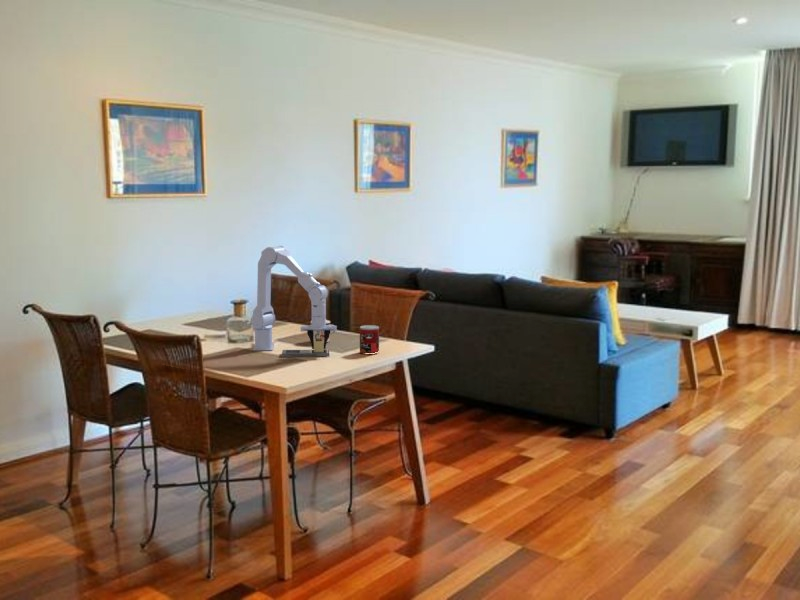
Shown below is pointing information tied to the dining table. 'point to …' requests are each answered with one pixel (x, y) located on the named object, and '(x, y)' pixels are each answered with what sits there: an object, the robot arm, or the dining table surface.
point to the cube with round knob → (318, 345)
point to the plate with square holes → (303, 353)
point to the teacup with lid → (322, 332)
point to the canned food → (369, 339)
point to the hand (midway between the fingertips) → (318, 348)
